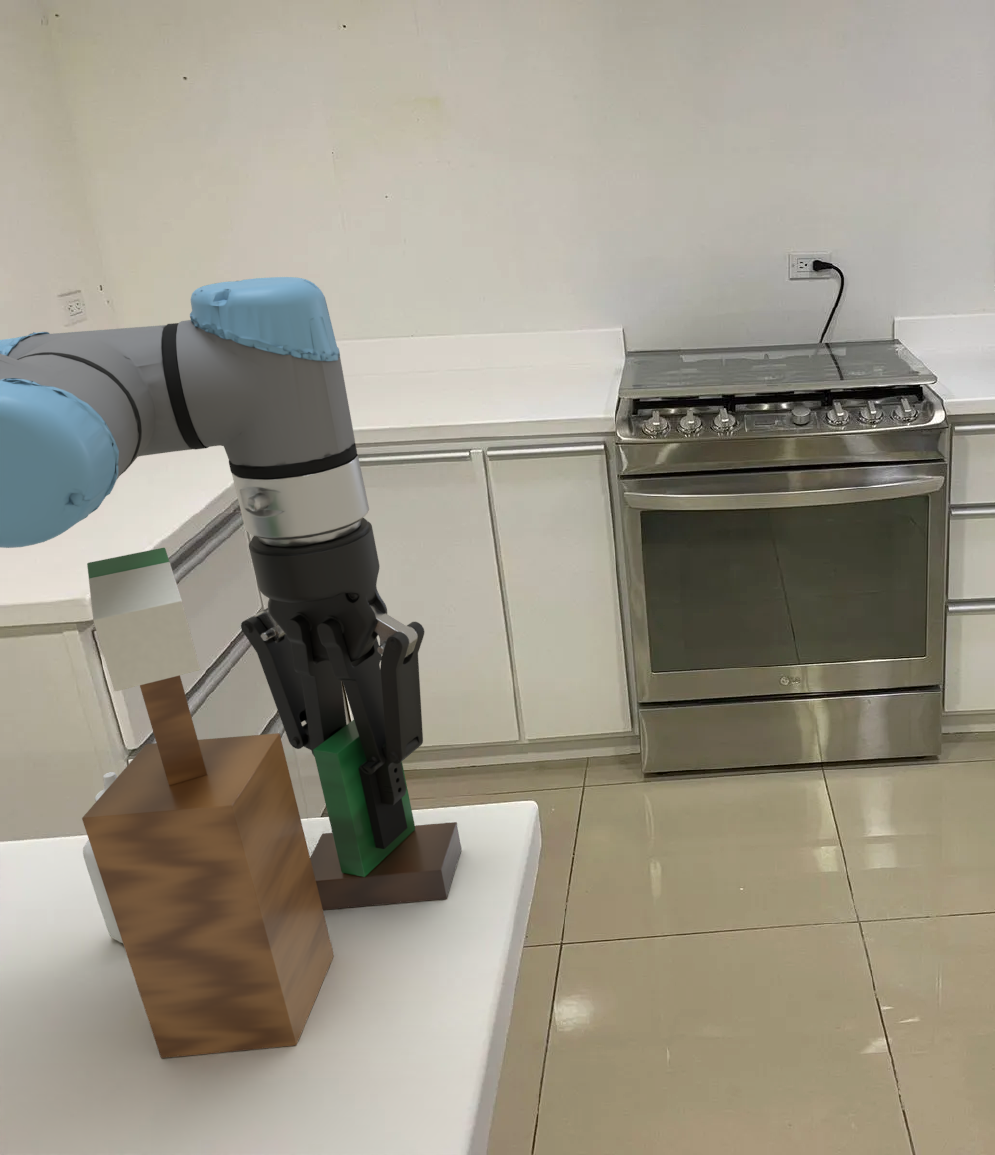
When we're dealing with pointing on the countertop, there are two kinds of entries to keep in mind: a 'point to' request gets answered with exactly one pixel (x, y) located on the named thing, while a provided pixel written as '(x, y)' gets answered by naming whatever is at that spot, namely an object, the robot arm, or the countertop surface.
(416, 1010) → the countertop surface
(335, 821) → the green carton
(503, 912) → the countertop surface
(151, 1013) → the stand
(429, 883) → the dark brown block
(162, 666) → the white green block
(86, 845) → the eye dropper bottle
